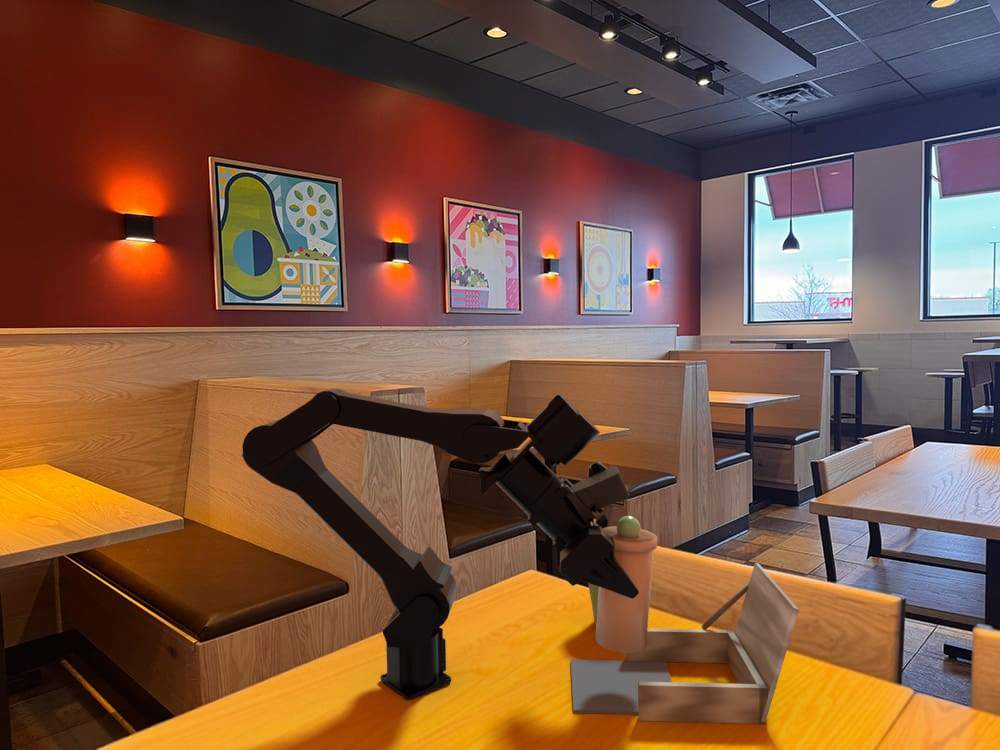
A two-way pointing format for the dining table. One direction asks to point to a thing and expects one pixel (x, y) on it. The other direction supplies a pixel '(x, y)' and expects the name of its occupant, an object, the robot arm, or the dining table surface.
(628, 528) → the pink lidded canister
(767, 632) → the brown open rectangular box
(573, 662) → the mat
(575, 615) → the dining table surface
